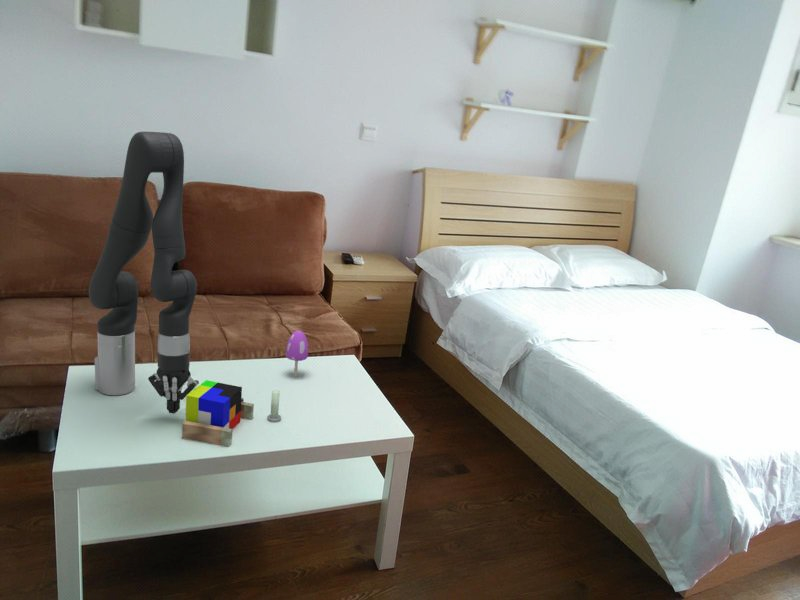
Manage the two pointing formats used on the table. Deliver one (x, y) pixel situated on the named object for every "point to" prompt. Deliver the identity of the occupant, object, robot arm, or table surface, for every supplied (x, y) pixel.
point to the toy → (297, 348)
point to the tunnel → (214, 429)
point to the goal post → (274, 407)
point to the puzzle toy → (214, 404)
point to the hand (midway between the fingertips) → (173, 412)
